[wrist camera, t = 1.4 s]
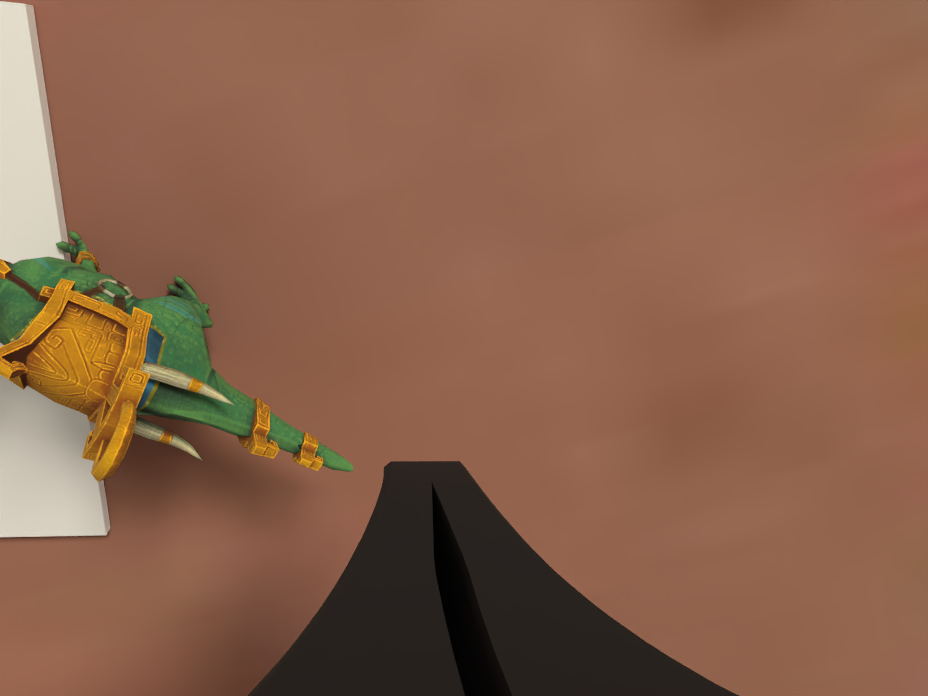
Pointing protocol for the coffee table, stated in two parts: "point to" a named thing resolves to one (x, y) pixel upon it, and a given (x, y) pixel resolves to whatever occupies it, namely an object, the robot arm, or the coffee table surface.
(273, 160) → the coffee table surface
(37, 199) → the cream mat
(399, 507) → the robot arm
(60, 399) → the figurine
